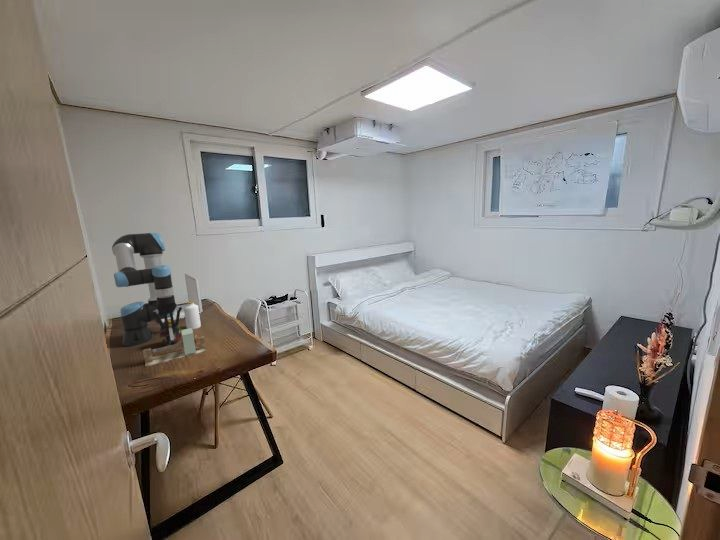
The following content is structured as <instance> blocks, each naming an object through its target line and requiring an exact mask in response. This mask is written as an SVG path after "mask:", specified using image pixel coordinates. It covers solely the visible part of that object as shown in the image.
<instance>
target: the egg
mask: <svg viewBox="0 0 720 540" xmlns="http://www.w3.org/2000/svg"><path fill="white" fill-rule="evenodd" d="M174 323H176V320H174ZM163 324H164V325H165V321H164V322H163ZM168 325H169V327H172V325H171V319H168ZM181 330H182V328H181V327H180V325H179V324H178V326H175V333H173V335H174V340H171V339H170V334H168V335H167V331H166V329H165V328H161V327H160V329H159V340H160V342H162V343H163V344H164V345H165V346H170V345H174V344H179V343H180V340H181V339H182V331H181Z"/></svg>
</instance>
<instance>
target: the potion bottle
mask: <svg viewBox="0 0 720 540" xmlns="http://www.w3.org/2000/svg"><path fill="white" fill-rule="evenodd" d="M186 304H187V306H185V307H184V314H185V318H184V319H185V326H186V329H189V328H192V330H197V329H199V328H201V326H202V324H201V323H202V322H201V318H200V314H199V308H198V305H195V304H194V301H190V302H189V301H186Z"/></svg>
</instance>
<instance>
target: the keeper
mask: <svg viewBox="0 0 720 540" xmlns="http://www.w3.org/2000/svg"><path fill="white" fill-rule="evenodd" d="M193 330H194V329H193ZM193 330H192V328H189V329H187V328H185V329H181V332H182V337H181V339H182V343H183V344H184V346H183V350H184V351H185V355H187V354H192V353H196V349H195V347H196V343H195V342H194V340H195V334H194V331H193Z"/></svg>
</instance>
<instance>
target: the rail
mask: <svg viewBox="0 0 720 540" xmlns="http://www.w3.org/2000/svg"><path fill="white" fill-rule="evenodd" d="M194 342H195V349H196V353H192V354H187V355H185V351H184V349H182V350H177V351H173V352H169V353H165V354H159V355H156V356H153V354H155V353H160V352H163V351H168V350H172V349H176V348H179V347H184V344H183V342H179V343H178V344H174V345H170V346H166V345H165V346H162V347H158V348H157V347H156V348H153V349H152V347H148V348H145V349H143V350H142V354H143V357H144V358H143V359H144V363H145V364H144V367H150V366H154V365H159V364H162V363H166V362H170V360H171V361H175V360H178V358H179V359H182V357H183V358H186V357H185V356H187V357H190V356H194V355H198V354H202V352H203V353H205V352H206V353H207V349H206V341H205V336H204V335H202V336H201V335H200V336H198V334H197V333H196V334H194ZM174 359H175V360H174Z"/></svg>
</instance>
